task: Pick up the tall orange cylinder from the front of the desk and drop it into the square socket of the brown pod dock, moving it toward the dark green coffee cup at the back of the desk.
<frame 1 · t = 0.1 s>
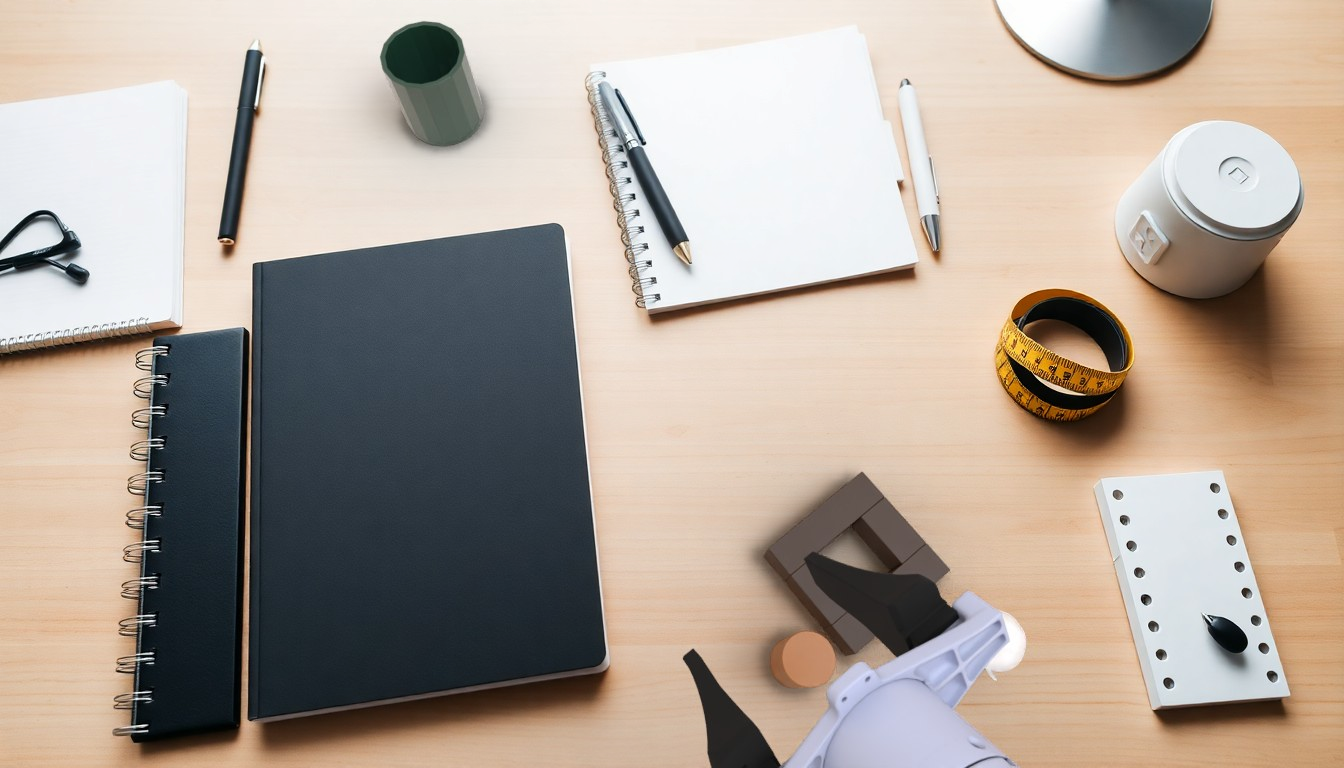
hand: (756, 614, 41), 30 cm above the table, tool tilted 50°, fingers open, 7 cm apart
coffee cup: (446, 114, 88), on the table
pod dock: (849, 566, 72), on the table
orange cylinder: (793, 662, 69), on the table
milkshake: (957, 650, 70), on the table
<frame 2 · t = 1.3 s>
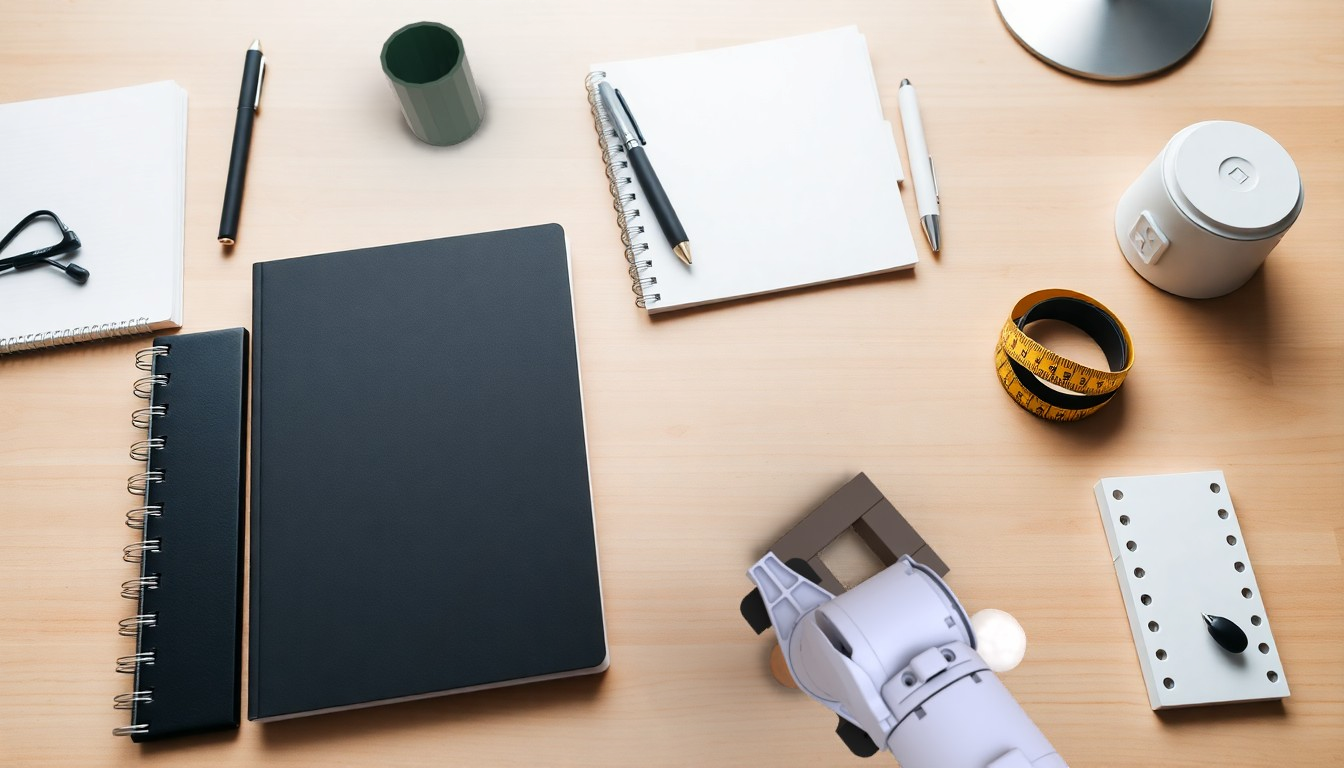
hand: (811, 657, 60), 9 cm above the table, tool pointing down, fingers open, 7 cm apart
nothing on the table moved.
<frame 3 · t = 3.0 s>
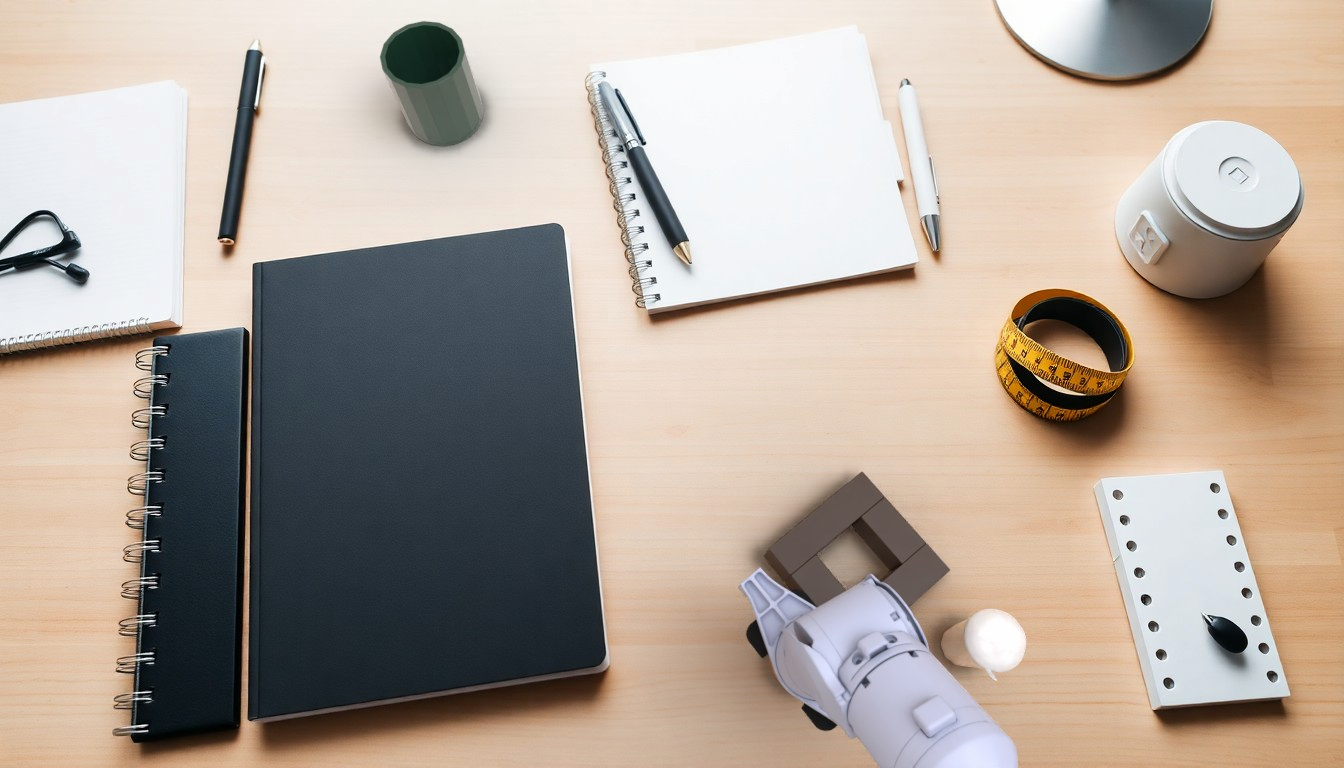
hand: (797, 661, 67), 2 cm above the table, tool pointing down, fingers closed on orange cylinder, 4 cm apart
orange cylinder: (793, 662, 69), on the table, touching gripper
everything else where it was.
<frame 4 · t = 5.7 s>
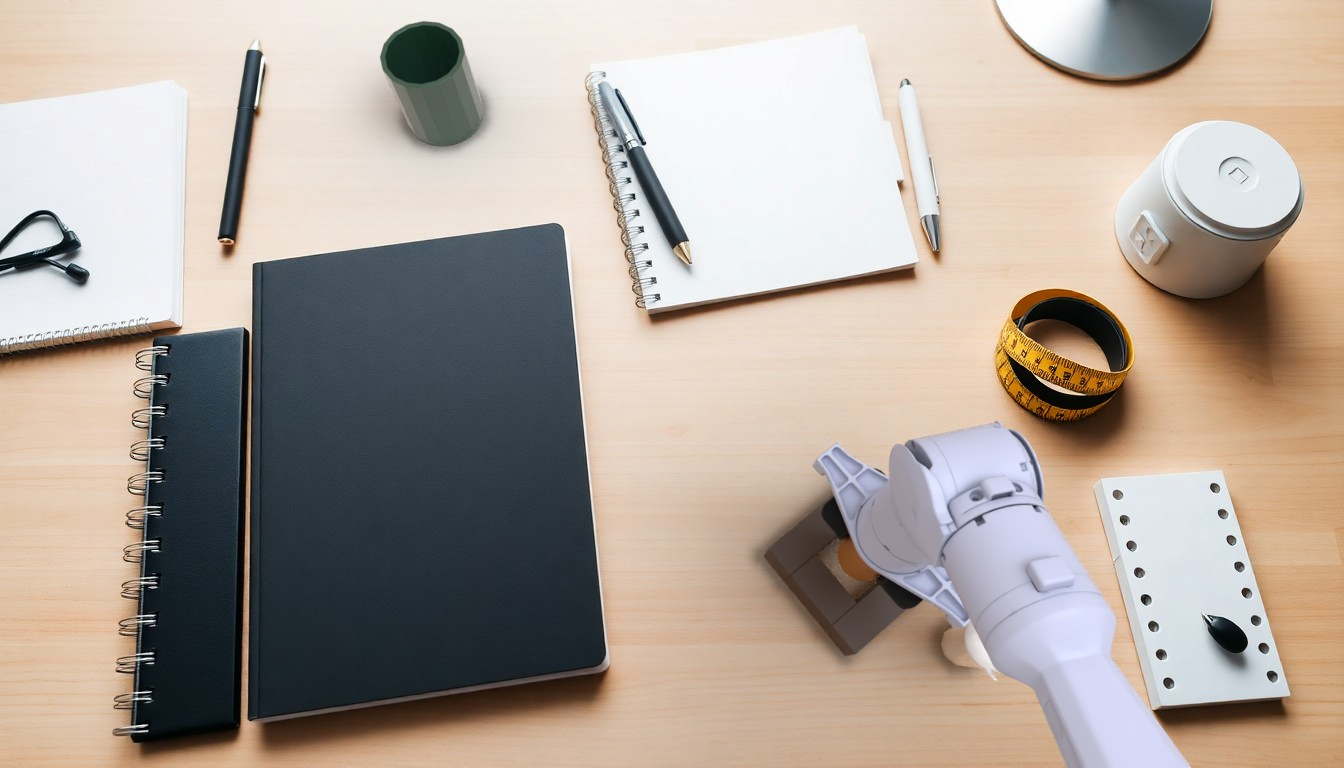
hand: (868, 552, 65), 7 cm above the table, tool pointing down, fingers closed on orange cylinder, 4 cm apart
orange cylinder: (862, 556, 67), point 5 cm above the table, touching gripper
everything else where it was.
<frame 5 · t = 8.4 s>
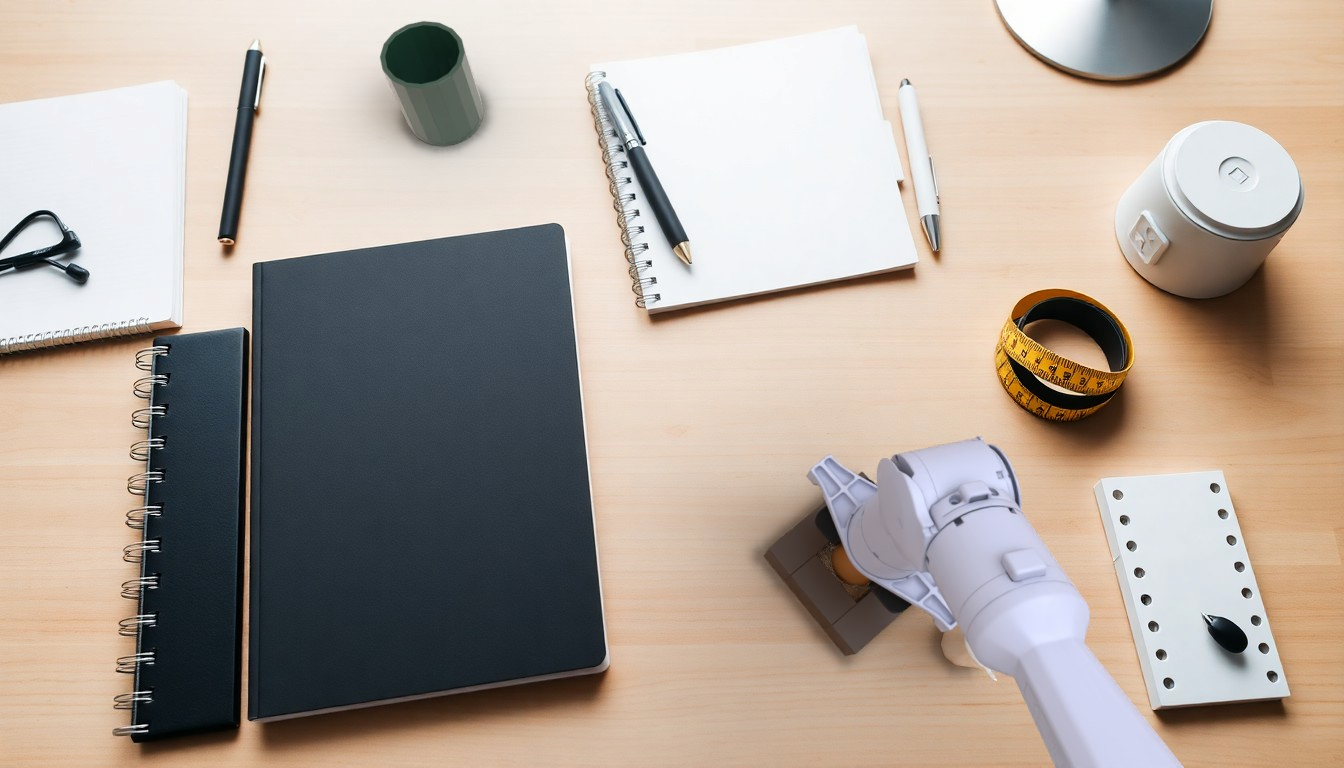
hand: (860, 558, 68), 4 cm above the table, tool pointing down, fingers closed on orange cylinder, 4 cm apart
orange cylinder: (854, 561, 70), point 2 cm above the table, touching gripper
everything else where it was.
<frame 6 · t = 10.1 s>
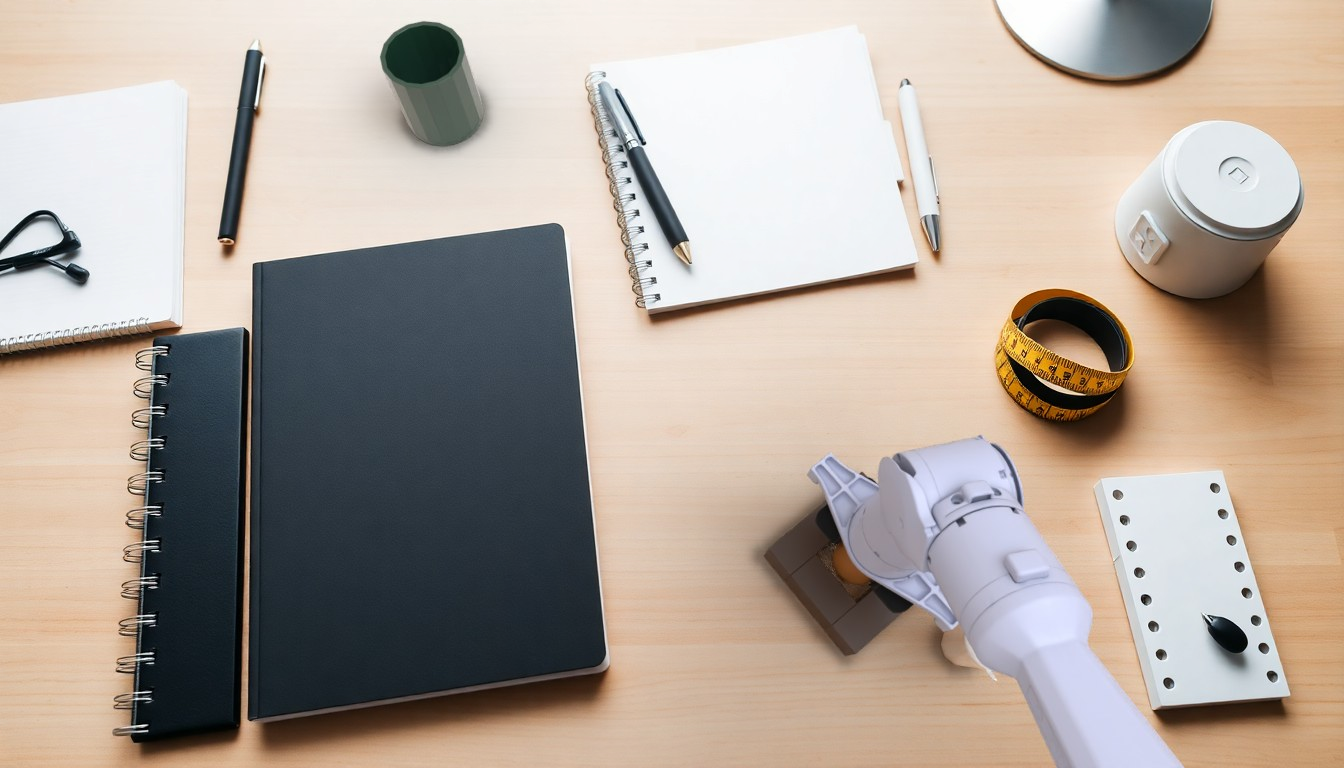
hand: (861, 557, 67), 5 cm above the table, tool pointing down, fingers closed on orange cylinder, 4 cm apart
orange cylinder: (855, 561, 69), point 3 cm above the table, touching gripper
everything else where it was.
when the fingers open (5 cm above the table, at t = 11.4 s): orange cylinder drops 3 cm, resting in pod dock.
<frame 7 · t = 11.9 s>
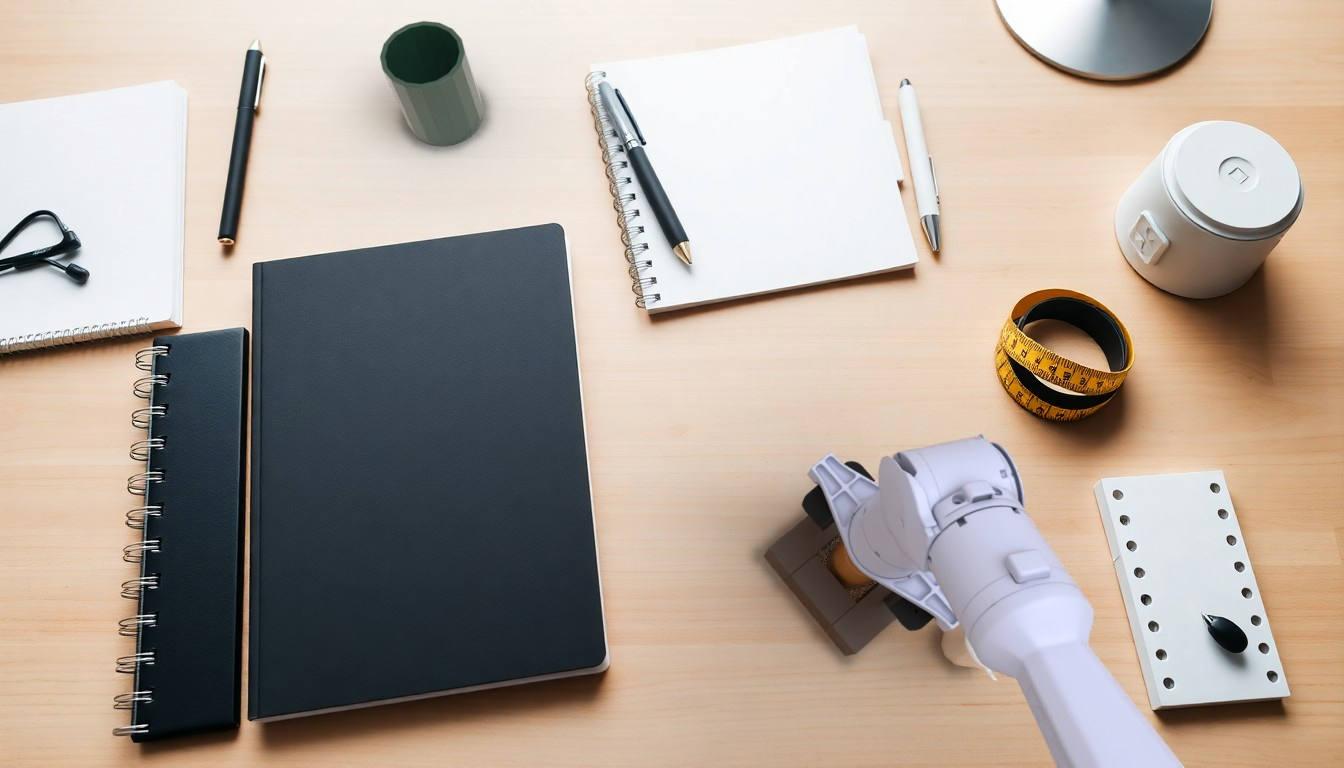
hand: (861, 557, 67), 5 cm above the table, tool pointing down, fingers open, 7 cm apart
orange cylinder: (849, 566, 72), resting in pod dock
everything else where it was.
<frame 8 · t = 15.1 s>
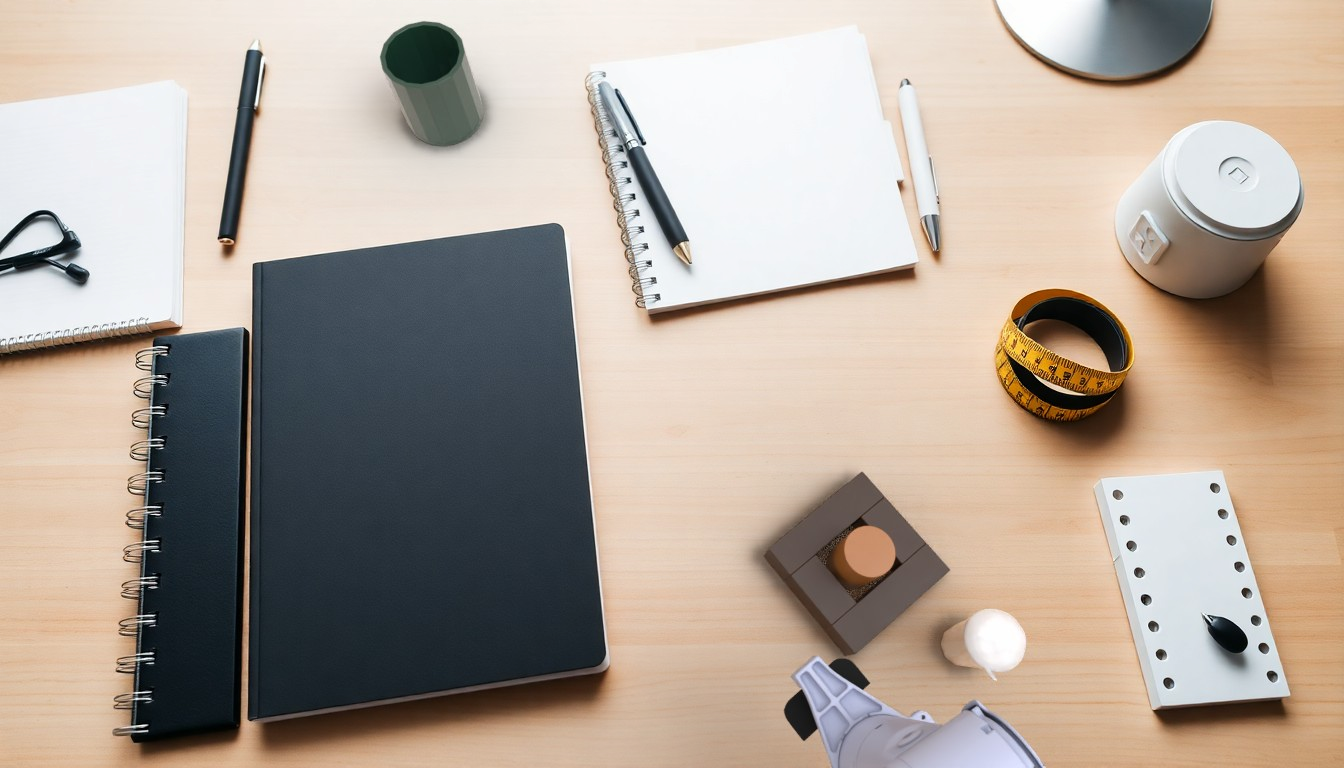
hand: (853, 752, 58), 9 cm above the table, tool pointing down, fingers open, 7 cm apart
nothing on the table moved.
at the end: orange cylinder 0.0 cm off-centre in the pod dock, point 0.0 cm above the pod dock's base; orange cylinder 61.7 cm from the coffee cup (horizontally) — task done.
